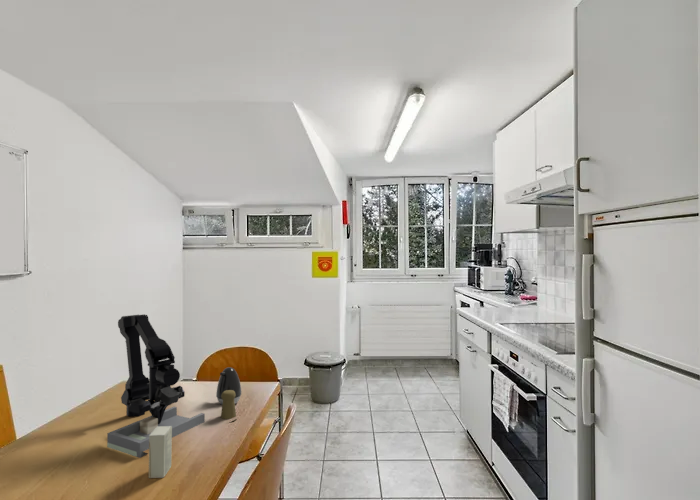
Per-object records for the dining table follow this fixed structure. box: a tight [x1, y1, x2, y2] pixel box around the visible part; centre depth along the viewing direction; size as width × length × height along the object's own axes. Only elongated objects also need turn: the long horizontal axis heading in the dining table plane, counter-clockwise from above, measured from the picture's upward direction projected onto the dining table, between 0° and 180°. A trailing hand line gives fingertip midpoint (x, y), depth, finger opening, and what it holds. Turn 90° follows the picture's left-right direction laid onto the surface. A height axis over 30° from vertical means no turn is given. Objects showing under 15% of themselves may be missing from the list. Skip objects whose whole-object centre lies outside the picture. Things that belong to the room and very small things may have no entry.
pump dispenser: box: [215, 366, 242, 405], centre depth 170 cm, size 10×10×15 cm
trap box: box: [106, 406, 206, 459], centre depth 139 cm, size 16×26×4 cm, turn 154°
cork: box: [220, 390, 237, 424], centre depth 153 cm, size 6×6×11 cm
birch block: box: [139, 416, 158, 434], centre depth 140 cm, size 4×4×4 cm
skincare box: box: [148, 426, 173, 479], centre depth 116 cm, size 6×4×12 cm
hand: (158, 423), depth 143 cm, fingers closed
